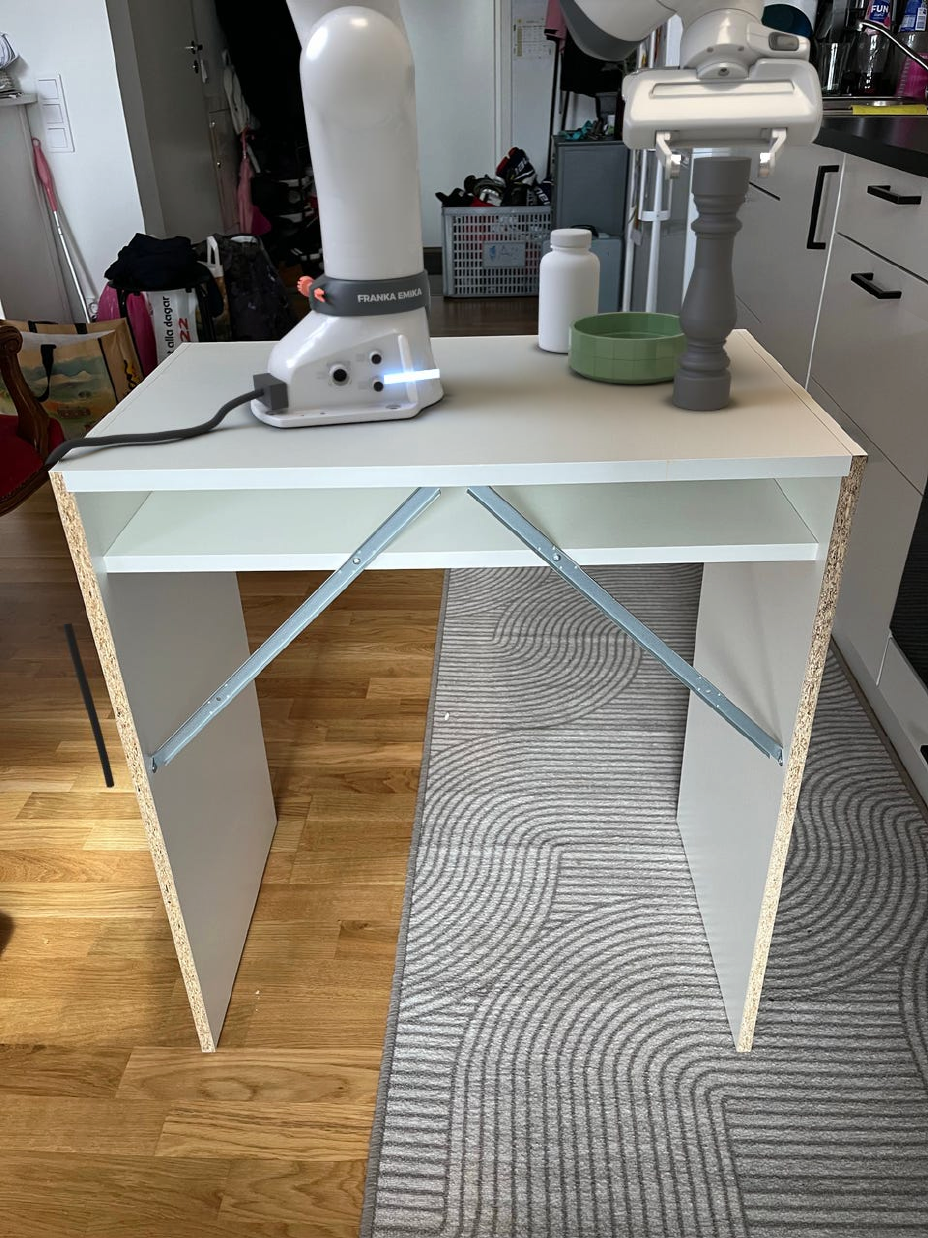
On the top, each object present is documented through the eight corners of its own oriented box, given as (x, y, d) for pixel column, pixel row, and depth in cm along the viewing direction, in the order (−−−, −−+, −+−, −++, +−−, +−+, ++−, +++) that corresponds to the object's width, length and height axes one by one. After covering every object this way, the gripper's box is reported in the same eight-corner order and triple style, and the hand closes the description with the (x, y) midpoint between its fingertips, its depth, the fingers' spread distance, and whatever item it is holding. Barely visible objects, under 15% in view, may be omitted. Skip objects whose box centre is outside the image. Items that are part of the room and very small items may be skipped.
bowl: (604, 392, 115) (606, 345, 112) (548, 362, 127) (548, 319, 125) (718, 376, 119) (722, 330, 117) (653, 349, 132) (655, 307, 129)
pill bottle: (599, 353, 131) (604, 234, 123) (539, 355, 131) (541, 236, 124) (593, 339, 138) (598, 226, 130) (536, 341, 138) (537, 227, 131)
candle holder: (729, 411, 107) (756, 160, 95) (671, 409, 108) (691, 161, 96) (727, 395, 112) (752, 155, 100) (672, 393, 113) (691, 156, 101)
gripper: (623, 44, 103) (617, 154, 99) (825, 37, 100) (827, 149, 96) (622, 92, 109) (616, 196, 105) (812, 86, 106) (813, 193, 102)
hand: (719, 174), depth 101 cm, fingers open, 8 cm apart
